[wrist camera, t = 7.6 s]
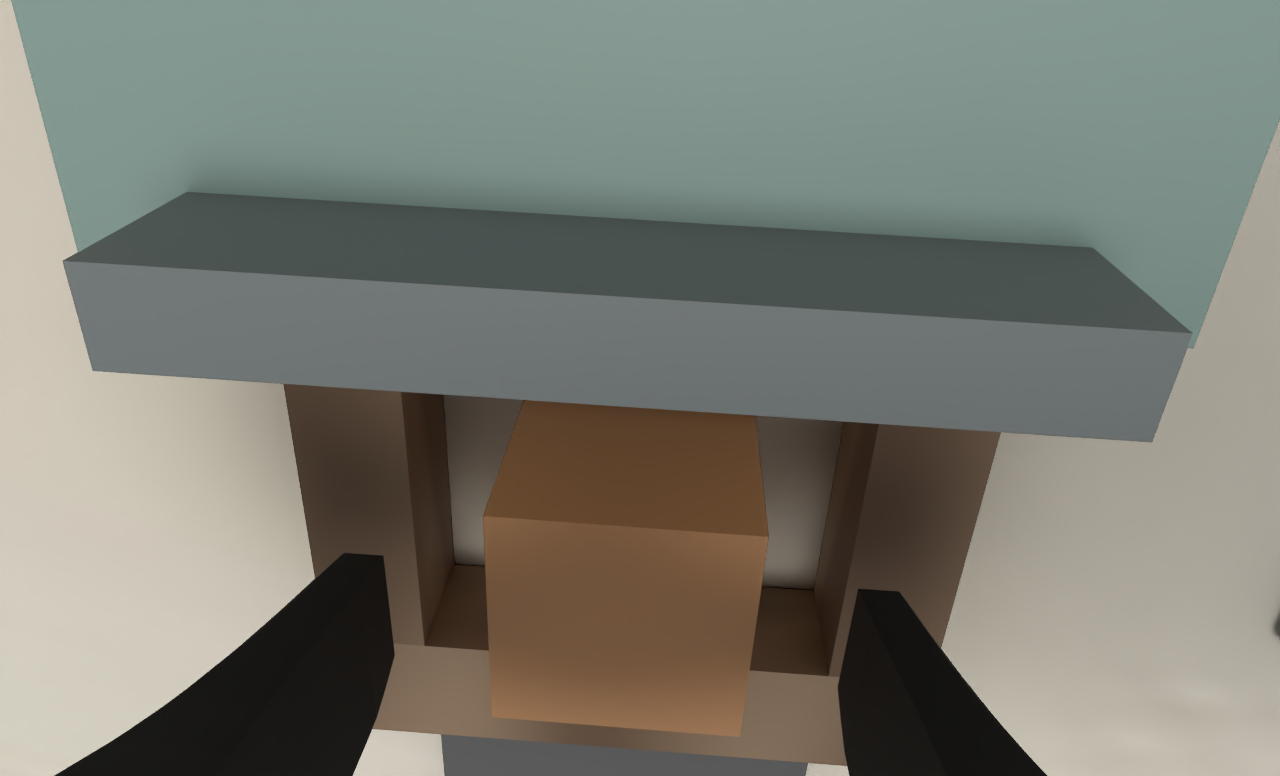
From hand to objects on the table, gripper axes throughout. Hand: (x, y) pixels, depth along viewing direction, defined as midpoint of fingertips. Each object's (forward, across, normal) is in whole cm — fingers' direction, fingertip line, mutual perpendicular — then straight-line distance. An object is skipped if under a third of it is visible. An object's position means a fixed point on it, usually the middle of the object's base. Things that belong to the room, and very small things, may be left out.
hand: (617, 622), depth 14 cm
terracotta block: (+5, 0, 0) cm, 5 cm away
